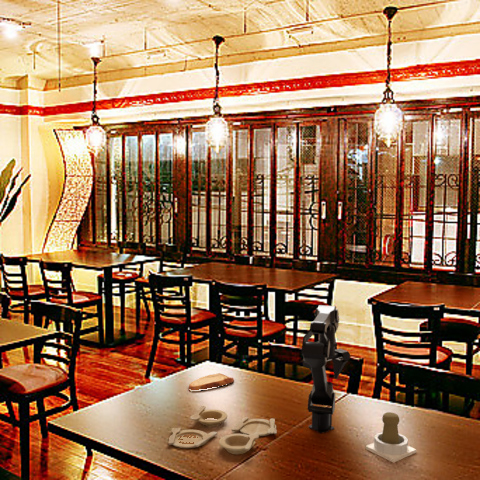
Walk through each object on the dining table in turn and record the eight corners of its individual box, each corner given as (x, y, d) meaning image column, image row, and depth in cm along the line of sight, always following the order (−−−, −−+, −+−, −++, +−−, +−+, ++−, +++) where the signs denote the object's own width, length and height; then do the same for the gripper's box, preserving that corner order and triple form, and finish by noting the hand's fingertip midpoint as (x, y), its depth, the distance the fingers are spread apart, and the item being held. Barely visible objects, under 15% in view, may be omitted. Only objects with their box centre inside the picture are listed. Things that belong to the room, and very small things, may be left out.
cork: (400, 452, 173) (401, 418, 172) (380, 450, 175) (381, 416, 174) (399, 444, 179) (400, 410, 178) (379, 442, 180) (380, 409, 179)
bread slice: (186, 392, 229) (186, 383, 229) (195, 378, 247) (195, 369, 247) (229, 394, 227) (229, 385, 227) (235, 379, 245) (235, 371, 244)
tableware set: (284, 425, 197) (285, 414, 197) (261, 463, 170) (261, 450, 169) (193, 412, 208) (193, 402, 208) (157, 446, 181) (157, 434, 181)
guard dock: (393, 462, 169) (393, 449, 169) (365, 448, 178) (365, 436, 178) (416, 452, 176) (416, 440, 175) (388, 439, 184) (388, 428, 184)
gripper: (329, 330, 213) (329, 369, 215) (292, 339, 202) (292, 380, 204) (351, 337, 204) (350, 378, 206) (313, 347, 193) (313, 390, 195)
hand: (326, 381), depth 203 cm, fingers open, 9 cm apart
